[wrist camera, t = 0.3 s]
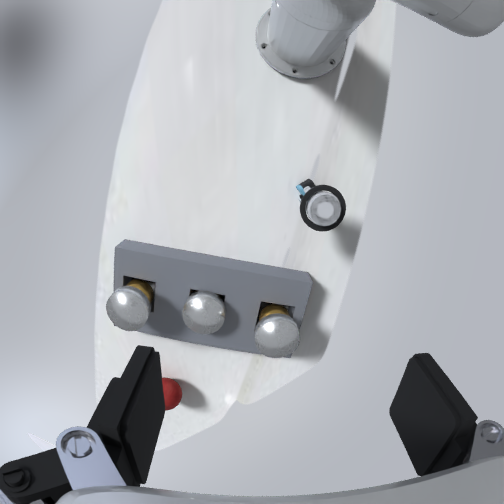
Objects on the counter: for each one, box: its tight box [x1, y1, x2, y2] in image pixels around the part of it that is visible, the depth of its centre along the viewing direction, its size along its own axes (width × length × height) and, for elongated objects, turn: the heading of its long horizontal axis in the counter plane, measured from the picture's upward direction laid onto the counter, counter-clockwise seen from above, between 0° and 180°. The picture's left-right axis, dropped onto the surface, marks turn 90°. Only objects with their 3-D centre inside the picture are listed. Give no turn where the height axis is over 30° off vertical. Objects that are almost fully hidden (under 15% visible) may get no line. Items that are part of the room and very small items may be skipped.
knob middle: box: [182, 290, 226, 334], centre depth 45 cm, size 6×6×6 cm
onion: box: [162, 378, 182, 410], centre depth 50 cm, size 6×6×8 cm
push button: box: [296, 179, 346, 231], centre depth 40 cm, size 7×5×10 cm
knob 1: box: [106, 279, 154, 331], centre depth 42 cm, size 6×6×6 cm
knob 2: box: [255, 304, 300, 358], centre depth 43 cm, size 6×6×6 cm
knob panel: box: [114, 239, 313, 358], centre depth 47 cm, size 13×28×4 cm, turn 79°
